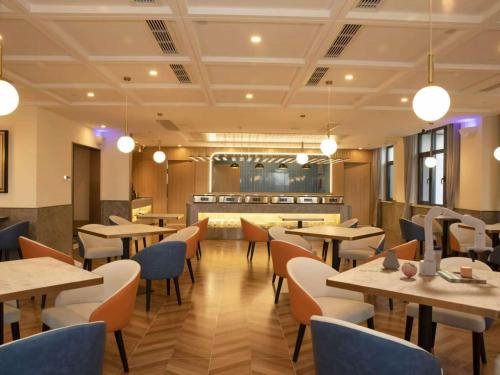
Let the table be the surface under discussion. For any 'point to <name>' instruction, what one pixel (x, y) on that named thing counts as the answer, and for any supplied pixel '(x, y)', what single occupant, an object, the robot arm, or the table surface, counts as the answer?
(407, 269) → the decorative fruit
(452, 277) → the trap board
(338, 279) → the table surface
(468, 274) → the block
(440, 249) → the coffee cup
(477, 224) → the robot arm
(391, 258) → the coffee pot
